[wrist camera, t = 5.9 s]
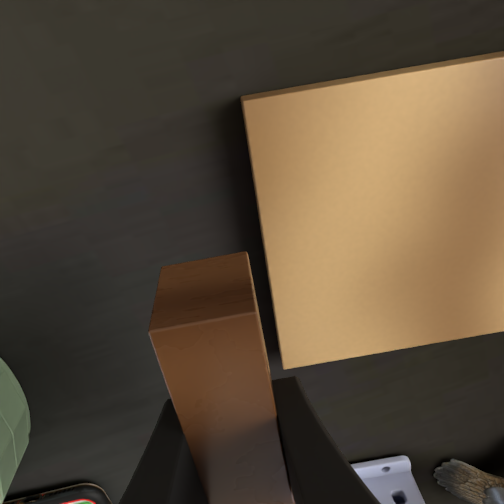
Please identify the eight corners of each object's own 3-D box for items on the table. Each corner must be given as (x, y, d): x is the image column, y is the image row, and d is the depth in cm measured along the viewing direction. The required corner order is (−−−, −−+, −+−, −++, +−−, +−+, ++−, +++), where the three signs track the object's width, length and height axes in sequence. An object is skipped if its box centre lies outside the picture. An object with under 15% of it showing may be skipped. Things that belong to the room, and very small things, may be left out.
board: (736, 10, 15) (775, 9, 14) (642, 289, 21) (665, 303, 20) (239, 95, 15) (242, 101, 14) (279, 352, 21) (283, 370, 20)
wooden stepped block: (134, 270, 10) (113, 338, 8) (273, 245, 10) (290, 305, 8) (225, 538, 15) (228, 623, 13) (316, 522, 15) (333, 603, 13)
